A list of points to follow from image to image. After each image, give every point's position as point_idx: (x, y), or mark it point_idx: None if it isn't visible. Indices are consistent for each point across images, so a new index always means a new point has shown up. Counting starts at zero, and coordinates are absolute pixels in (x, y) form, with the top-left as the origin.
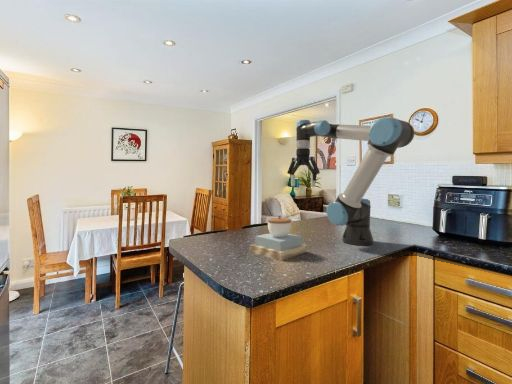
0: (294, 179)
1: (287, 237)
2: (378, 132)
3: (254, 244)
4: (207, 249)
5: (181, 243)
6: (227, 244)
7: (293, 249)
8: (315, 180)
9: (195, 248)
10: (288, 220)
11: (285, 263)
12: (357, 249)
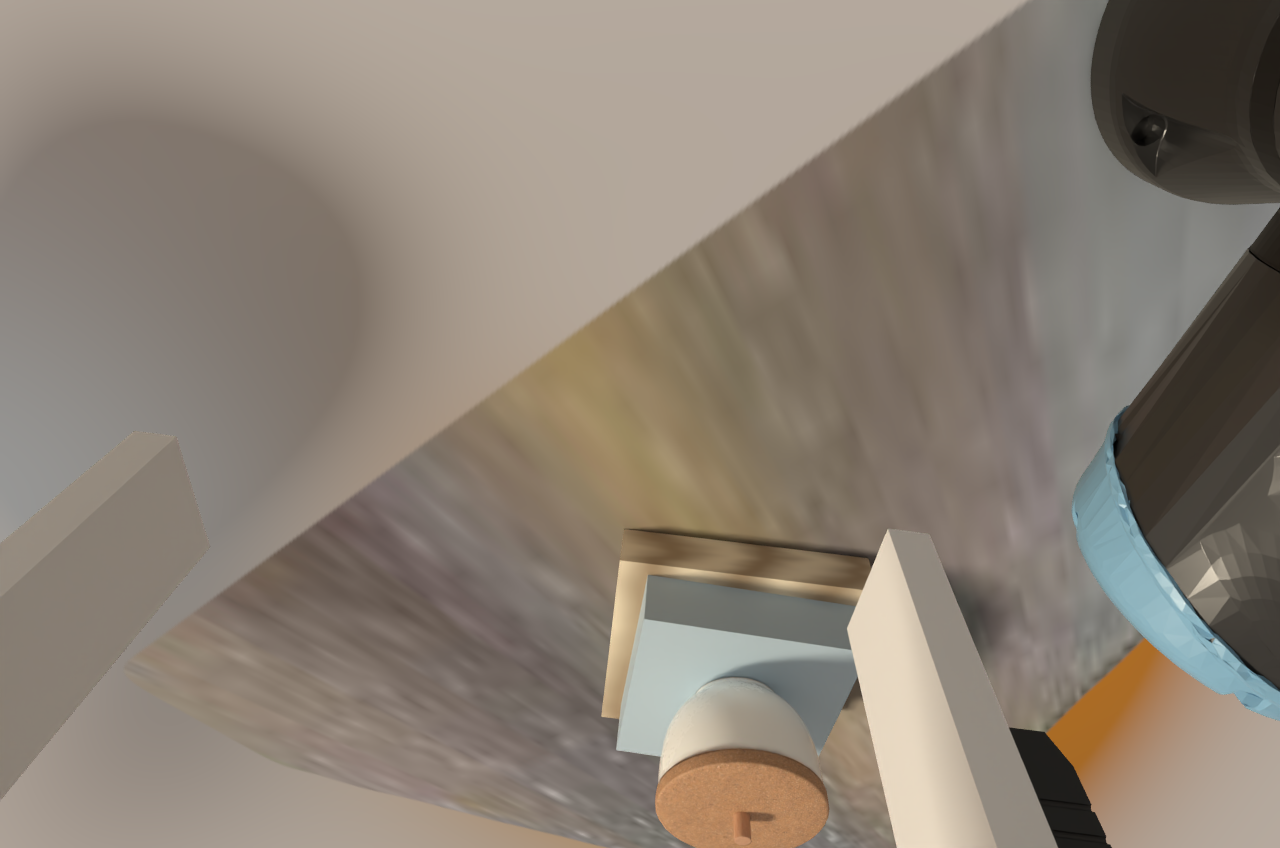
0: (11, 622)
1: (795, 705)
2: None
3: (611, 701)
4: (414, 730)
5: (221, 722)
6: (395, 642)
7: None
8: (1033, 753)
9: (360, 741)
10: (823, 823)
11: (845, 722)
12: None
